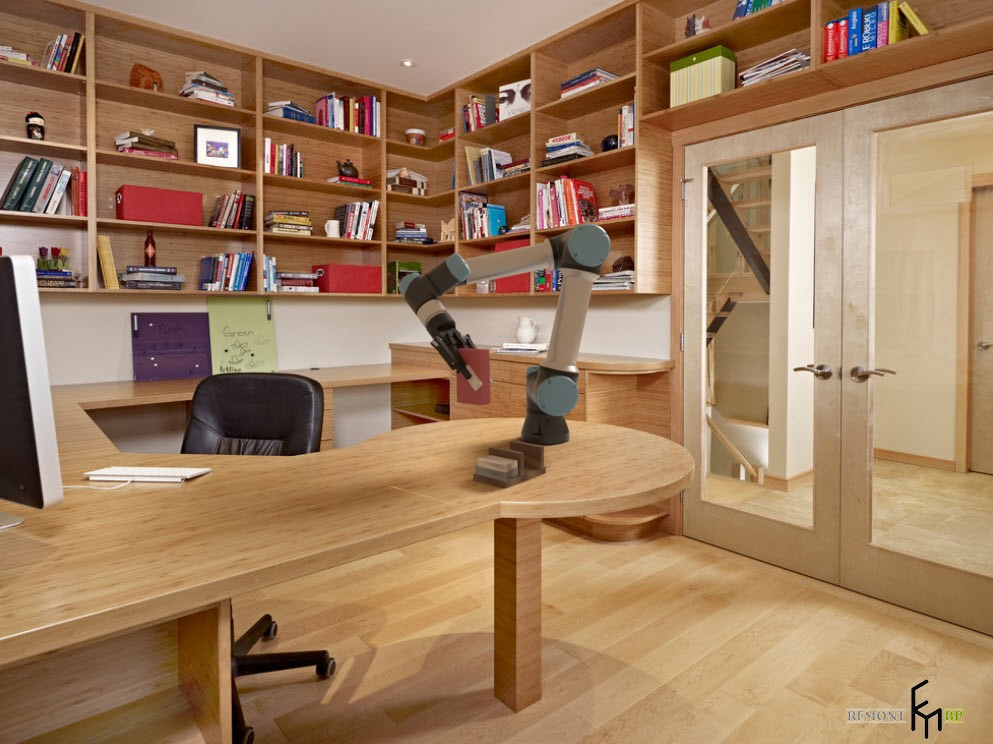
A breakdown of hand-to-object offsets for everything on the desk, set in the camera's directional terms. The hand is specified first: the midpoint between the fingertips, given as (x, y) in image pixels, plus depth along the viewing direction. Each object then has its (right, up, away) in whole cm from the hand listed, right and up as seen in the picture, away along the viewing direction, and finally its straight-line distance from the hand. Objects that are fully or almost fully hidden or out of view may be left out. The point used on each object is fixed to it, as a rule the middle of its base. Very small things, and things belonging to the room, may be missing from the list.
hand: (484, 386), depth 158 cm
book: (-3, -4, +3) cm, 6 cm away
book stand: (+7, -22, -6) cm, 24 cm away
